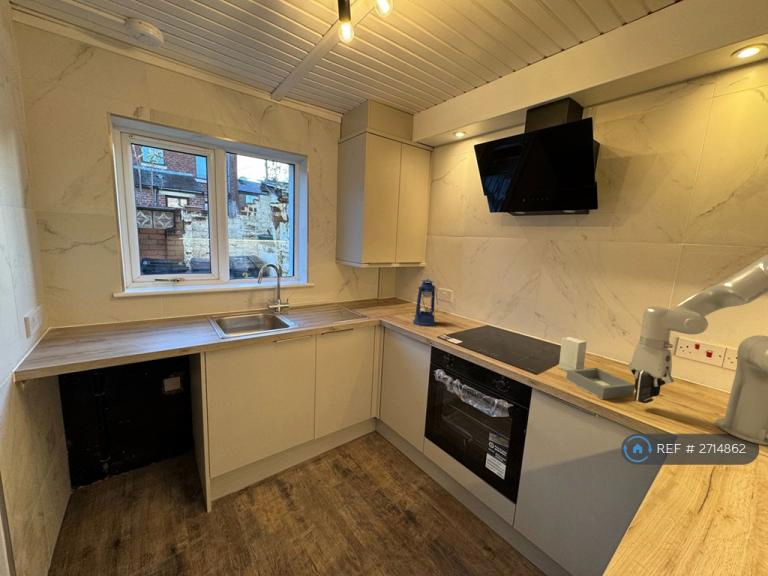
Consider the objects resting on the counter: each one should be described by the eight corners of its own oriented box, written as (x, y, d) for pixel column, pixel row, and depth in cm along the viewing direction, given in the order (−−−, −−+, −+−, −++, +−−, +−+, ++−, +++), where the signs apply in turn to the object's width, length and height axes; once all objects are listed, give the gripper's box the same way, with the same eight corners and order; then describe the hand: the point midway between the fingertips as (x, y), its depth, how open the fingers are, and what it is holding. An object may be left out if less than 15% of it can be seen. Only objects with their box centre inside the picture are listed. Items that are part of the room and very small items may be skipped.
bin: (633, 395, 119) (635, 384, 118) (602, 399, 114) (604, 388, 113) (594, 377, 134) (596, 367, 133) (565, 380, 129) (567, 370, 128)
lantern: (424, 319, 218) (427, 277, 214) (441, 324, 207) (445, 280, 202) (407, 322, 207) (410, 278, 202) (423, 327, 196) (427, 281, 191)
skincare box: (583, 373, 137) (588, 341, 135) (574, 375, 135) (580, 343, 133) (565, 366, 145) (570, 335, 143) (557, 367, 142) (561, 337, 140)
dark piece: (646, 405, 106) (650, 374, 104) (633, 400, 109) (637, 370, 108) (657, 401, 109) (661, 371, 107) (644, 397, 112) (648, 367, 111)
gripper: (690, 350, 99) (682, 403, 102) (635, 335, 115) (629, 381, 118) (675, 351, 97) (666, 406, 100) (620, 336, 113) (614, 383, 116)
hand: (646, 392), depth 109 cm, fingers closed on dark piece, 4 cm apart
